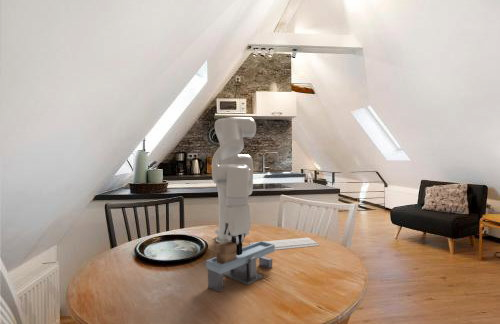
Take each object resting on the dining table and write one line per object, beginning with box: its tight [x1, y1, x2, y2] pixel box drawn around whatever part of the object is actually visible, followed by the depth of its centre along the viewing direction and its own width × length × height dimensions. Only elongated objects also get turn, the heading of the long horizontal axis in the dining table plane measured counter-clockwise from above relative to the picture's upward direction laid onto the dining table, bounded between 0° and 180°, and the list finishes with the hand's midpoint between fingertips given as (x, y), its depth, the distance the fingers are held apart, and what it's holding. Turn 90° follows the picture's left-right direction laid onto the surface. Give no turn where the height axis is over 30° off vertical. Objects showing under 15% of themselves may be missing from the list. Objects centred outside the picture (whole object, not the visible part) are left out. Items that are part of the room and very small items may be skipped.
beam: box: [205, 240, 276, 274], centre depth 111 cm, size 8×28×3 cm, turn 138°
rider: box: [216, 241, 237, 264], centre depth 104 cm, size 4×5×6 cm
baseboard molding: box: [248, 237, 320, 251], centre depth 146 cm, size 31×3×12 cm
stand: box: [207, 255, 273, 293], centre depth 111 cm, size 12×28×8 cm, turn 138°
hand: (237, 253), depth 108 cm, fingers closed
